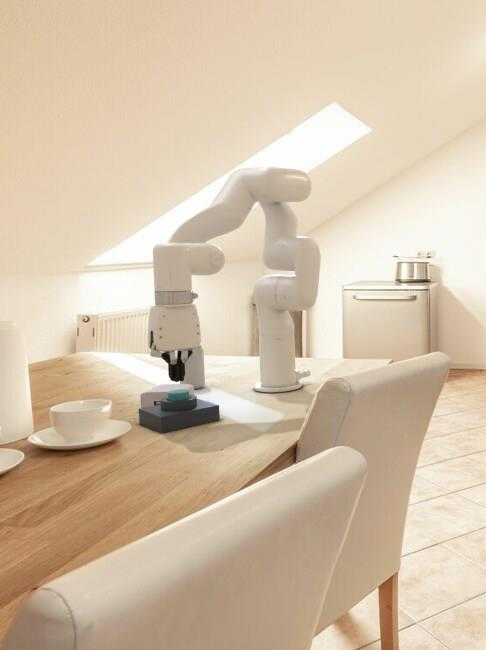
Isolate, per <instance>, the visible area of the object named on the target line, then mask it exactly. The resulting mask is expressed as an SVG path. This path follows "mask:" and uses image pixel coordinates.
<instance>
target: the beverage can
mask: <svg viewBox="0 0 486 650" xmlns="http://www.w3.org/2000/svg"><path fill="white" fill-rule="evenodd" d="M200 349H201V350H200V351H199V352H197V353H194V354H192V355H191V356H190V357H189V358H188V359H187V362H186V363H185V376H184V381H179V384H190V385H193V386H194V390H199V389H203V387H204V386H205V385H206V376H205V357H204V348H203V345H202V344H200Z"/></svg>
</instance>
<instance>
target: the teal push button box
mask: <svg viewBox="0 0 486 650" xmlns="http://www.w3.org/2000/svg"><path fill="white" fill-rule="evenodd" d="M160 403H161V405H156V406H151V407H145V408H141V407H140V408H138V424H139V425H141V426H144V427H146V428H148V429H150V430H153V431H157V432H158V433H161V434H164V433H168V432H172V431H176V430H181V429H186V428H191V427H195V426H200V425H204V424H209V423H212V422H218V421H220V420H221V418H220V417H221V416H220V404H217V403H213V402H211V401H210V402H209V401H206V400H204V399H200V398H198V396H197V395H195V394H194V395H190V398H189V399H186V400H181V401H168V397H165V398H162V399H161V401H160Z"/></svg>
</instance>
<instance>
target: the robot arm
mask: <svg viewBox="0 0 486 650" xmlns="http://www.w3.org/2000/svg"><path fill="white" fill-rule="evenodd" d="M312 188H313V187H312V181H311V178H310V176H309V175H308V174H307V173H306V172H305V171H304V170H302V169H298V168H297V169H296V168H283V167H277V166H256V167H255V166H254V167H241V168H238V169H235V170H234V171H233V172H232V173H231V174H230V175H229V177H228V178H227V179H226V181H225V182H224V184H223V185H222V187H221V188H220V190H219V191H218V193H217V194H216V196H215V197H214V199H213V200H212V202H211V203H210V204H209V205H208V206H207V207H205V208H204V209H202V210H200V211H199V212H197V213H195V214H194V215H193V216H191V217H190V218H188V219H186V220H185V221H184V222H183V223H181V224H180V225H179V226H178V227H176V229H175V230H174V231H173V233H172V234H171V236H169V238H168V240H167V242H164V243H163V242H162V243H157V244H155V245H154V246H153V248H152V264H153V265H152V267H153V287H154V288H153V289H154V305H150V308H149V316H148V322H147V347H148V349H150V353H149V356H150V357H152V358H157V359H162V360H163V361H164V362H165V363H166V364H167V367H168V369H167V370H168V371H167V372H168V378H169V379H170V381H171V382H174V383H180V381H184V376H185V363H186V362H187V359H188V358H189V357H190V356H191V355H192V354H194V353H197V352H199V351H200V350H201V349H200V345H201V344H202V343H201V342H202V335H201V333H202V332H201V325H200V324H201V323H200V319H199V314H198V309H197V306H196V304H195V303H194V300H197V299H198V298H199V294H198V293H197V292H194V290H193V279H192V278H193V277H192V276H213V275H215V274H216V275H217V274H218V273H219V272H221V271H222V269H223V268H224V266H225V264H226V255H225V253H224V251H223V250H222V249H221V247H219V246H218V245H216V244H214V243H209V241H211V240H213V239H215V238H218V237H221V236H224V235H227V234H229V233H231V232H234V231H236V230H238V229H240V228H241V227H242V226H243V224H244V222H245V221H246V219H247V218H248V217H249V214H250V212H251V211H252V209H253V208H254V206H255V205H256V203H258V204H259V206H260V207H261V209H262V211H263V213H264V217H265V218H264V219H265V228H264V237H263V238H264V239H263V240H264V241H263V248H262V249H263V250H262V262H263V264H264V266H265V268H267V269H268V270H271V271H278V272H280V271H281V272H294V275H287V274H286V275H285V274H271V275H270V274H269V275H264V276H261V277H259V279H257V281H255V283H254V285H253V288H252V293H253V294H252V296H253V300H254V305H255V309H256V314H257V325H258V349H259V350H258V351H259V377H260V379H259V380H260V382H257V383H255V384H254V390H255V391H257V392H259V393H260V392H261V393H285V392H291V391H295V390H298V389H300V388H302V386H303V384H302V383H303V382H302V381H301V379H302V378H308V377H310V376H311V370H309V369H306V370H300V369H297V367H296V339H295V337H296V336H295V322H294V320H293V318H292V316H291V314H290V312H289V311H308V310H311V309H312V308H313V307H314V306H315V305H316V302H317V299H318V294H319V285H320V284H319V282H320V272H321V257H322V256H321V250H320V246H319V244H318V243H317V241H316V240H315V239H313V238H312V237H309V236H304V235H303V236H299V235H298V218H297V216H296V213H295V211H294V210H293V209H292V207H291V206H290V204H289V203H299V202H300V203H301V202H304V201H306V200H307V199H308V198H309V197H310V196H311V192H312ZM175 351H176V352H175Z"/></svg>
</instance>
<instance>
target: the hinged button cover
mask: <svg viewBox="0 0 486 650" xmlns="http://www.w3.org/2000/svg"><path fill="white" fill-rule="evenodd" d="M179 389H186V390H189V395H195V389H194V386H193V385H190V384H180V383H172V384H171V383H169V384H167V383H165V384H164V383H163V384H159V385H156V386H154V387H152V388H150V389H148V390H146V391H144V392H142V393H141V394H140V396H139V397H140V408H145V407H151V406H156V405H161V403H160V401H161V399H162V398H165V397H168V392H169V391H172V390H179Z"/></svg>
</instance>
